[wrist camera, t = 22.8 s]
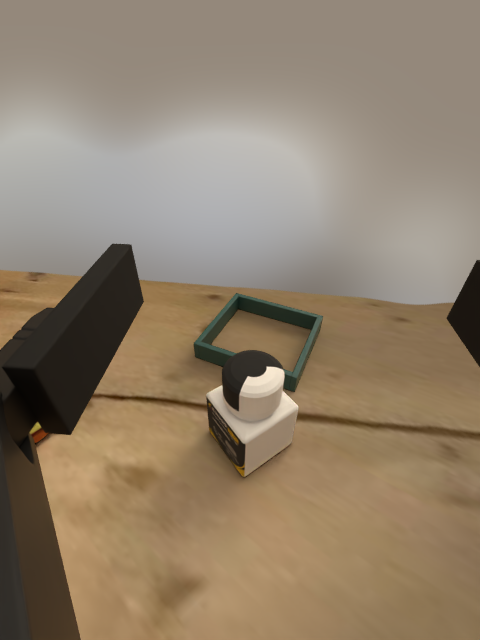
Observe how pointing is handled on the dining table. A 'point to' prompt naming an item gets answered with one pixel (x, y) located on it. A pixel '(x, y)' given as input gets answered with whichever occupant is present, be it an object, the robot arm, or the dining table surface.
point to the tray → (267, 310)
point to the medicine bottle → (251, 410)
